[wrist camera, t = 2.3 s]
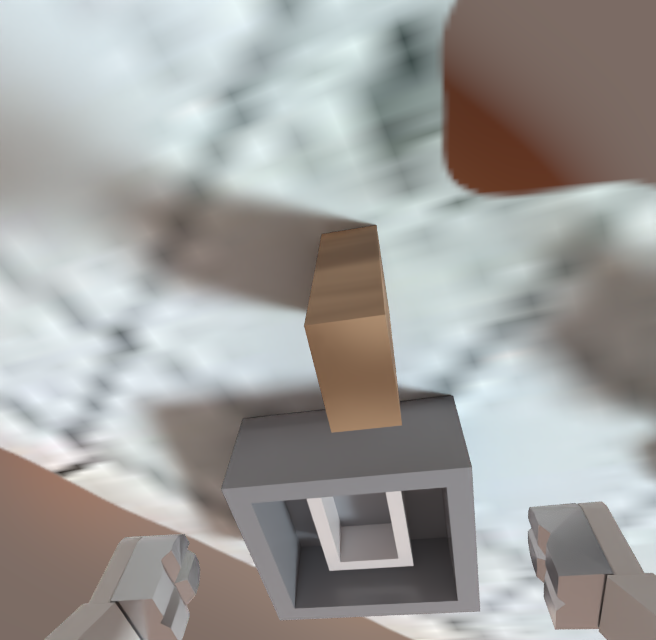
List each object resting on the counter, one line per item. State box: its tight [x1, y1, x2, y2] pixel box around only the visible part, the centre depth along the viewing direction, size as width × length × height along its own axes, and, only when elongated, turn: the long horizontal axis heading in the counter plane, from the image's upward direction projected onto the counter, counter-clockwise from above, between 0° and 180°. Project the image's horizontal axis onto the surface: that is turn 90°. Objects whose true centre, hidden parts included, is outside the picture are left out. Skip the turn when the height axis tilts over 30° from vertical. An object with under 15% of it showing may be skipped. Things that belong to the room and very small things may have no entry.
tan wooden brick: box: [304, 225, 402, 433], centre depth 19 cm, size 4×2×8 cm, turn 11°
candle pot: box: [221, 396, 480, 620], centre depth 27 cm, size 12×12×5 cm
